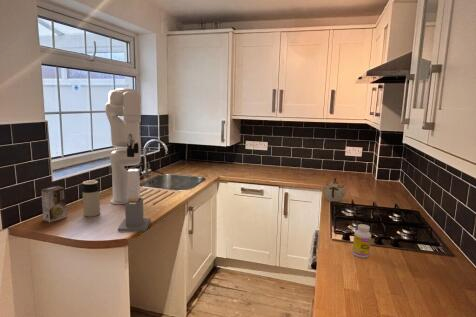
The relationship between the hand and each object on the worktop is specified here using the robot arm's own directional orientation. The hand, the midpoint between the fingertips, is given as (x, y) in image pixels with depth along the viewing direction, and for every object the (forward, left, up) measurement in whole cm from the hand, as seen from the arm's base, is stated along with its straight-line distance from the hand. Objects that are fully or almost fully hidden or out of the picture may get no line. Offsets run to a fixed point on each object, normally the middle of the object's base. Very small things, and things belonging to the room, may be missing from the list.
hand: (133, 155), depth 150 cm
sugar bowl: (-41, +120, -36) cm, 132 cm away
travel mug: (-17, -26, -36) cm, 47 cm away
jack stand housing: (0, 0, -36) cm, 36 cm away
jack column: (0, 0, -27) cm, 27 cm away
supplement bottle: (+34, +101, -36) cm, 112 cm away
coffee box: (-11, -42, -36) cm, 56 cm away
